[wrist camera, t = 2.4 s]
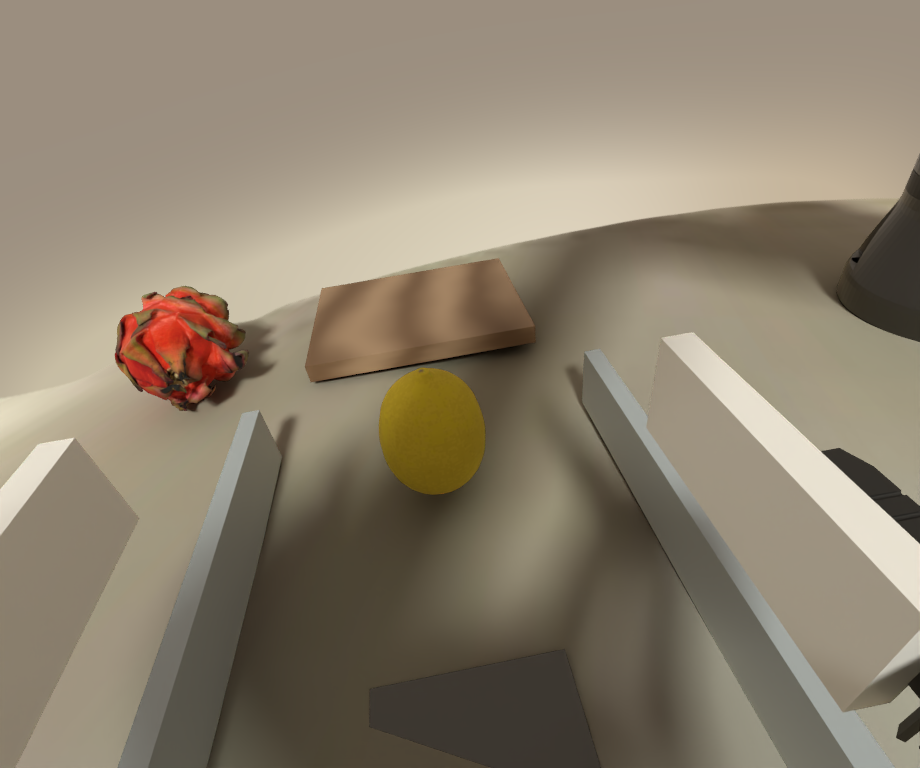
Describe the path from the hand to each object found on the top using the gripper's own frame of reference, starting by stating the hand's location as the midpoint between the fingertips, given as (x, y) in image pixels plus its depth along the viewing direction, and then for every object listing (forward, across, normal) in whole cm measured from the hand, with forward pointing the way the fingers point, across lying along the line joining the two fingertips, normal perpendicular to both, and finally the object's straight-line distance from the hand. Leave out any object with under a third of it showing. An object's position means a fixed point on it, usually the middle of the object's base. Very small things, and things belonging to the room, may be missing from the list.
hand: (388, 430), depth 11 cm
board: (+30, +1, -13) cm, 33 cm away
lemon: (+10, +1, -14) cm, 17 cm away
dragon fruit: (+25, -17, -14) cm, 33 cm away
